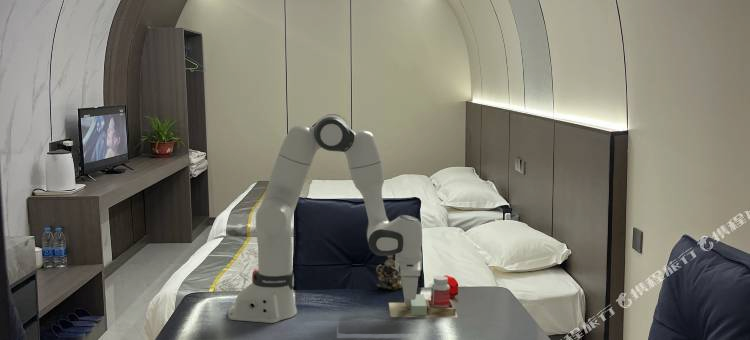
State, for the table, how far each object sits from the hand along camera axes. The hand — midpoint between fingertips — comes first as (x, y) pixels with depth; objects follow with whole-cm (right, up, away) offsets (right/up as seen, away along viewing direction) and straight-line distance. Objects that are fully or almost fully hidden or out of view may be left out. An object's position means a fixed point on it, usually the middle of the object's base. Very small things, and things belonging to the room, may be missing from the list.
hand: (407, 304), depth 225 cm
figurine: (-5, 0, +25) cm, 26 cm away
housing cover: (+3, -2, 0) cm, 4 cm away
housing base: (+5, -3, +1) cm, 6 cm away
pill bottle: (+11, -2, +1) cm, 11 cm away
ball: (+15, -1, +17) cm, 22 cm away
